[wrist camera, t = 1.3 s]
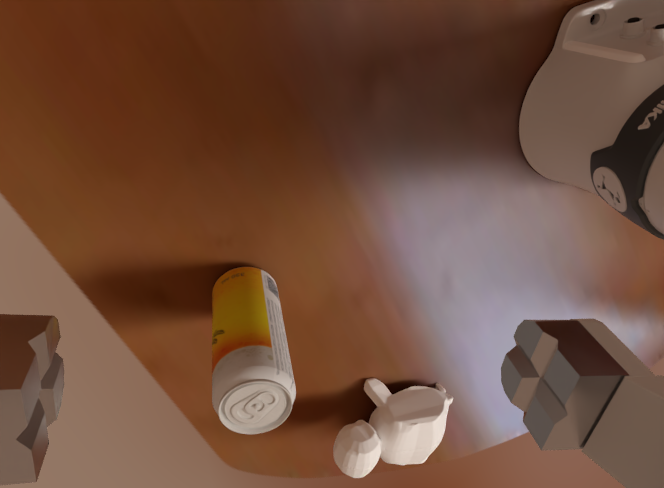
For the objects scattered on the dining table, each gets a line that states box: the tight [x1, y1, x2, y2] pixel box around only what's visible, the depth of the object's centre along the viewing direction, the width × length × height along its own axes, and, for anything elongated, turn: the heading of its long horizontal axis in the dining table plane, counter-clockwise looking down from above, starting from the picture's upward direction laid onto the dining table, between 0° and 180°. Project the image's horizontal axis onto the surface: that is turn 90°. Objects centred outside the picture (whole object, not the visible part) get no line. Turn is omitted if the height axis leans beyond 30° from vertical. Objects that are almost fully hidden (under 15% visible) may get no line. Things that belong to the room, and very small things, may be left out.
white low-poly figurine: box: [333, 378, 453, 478], centre depth 59 cm, size 9×8×15 cm
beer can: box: [212, 267, 296, 434], centre depth 44 cm, size 6×6×15 cm
